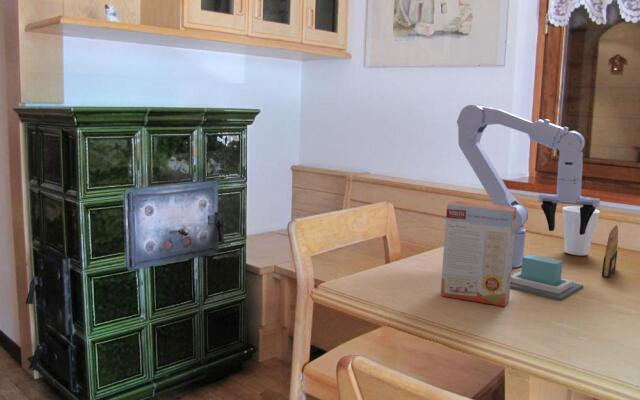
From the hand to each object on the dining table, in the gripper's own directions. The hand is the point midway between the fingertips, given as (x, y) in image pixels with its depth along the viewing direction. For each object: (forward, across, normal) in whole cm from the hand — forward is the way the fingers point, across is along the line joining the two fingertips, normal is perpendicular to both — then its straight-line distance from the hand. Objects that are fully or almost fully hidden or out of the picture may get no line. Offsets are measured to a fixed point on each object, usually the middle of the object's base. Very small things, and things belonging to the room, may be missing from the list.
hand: (566, 232), depth 158 cm
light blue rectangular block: (+10, 0, -17) cm, 20 cm away
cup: (+11, -4, +22) cm, 25 cm away
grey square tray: (+10, 0, -17) cm, 20 cm away
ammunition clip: (+11, +8, +8) cm, 16 cm away
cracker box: (+10, -8, -37) cm, 39 cm away
